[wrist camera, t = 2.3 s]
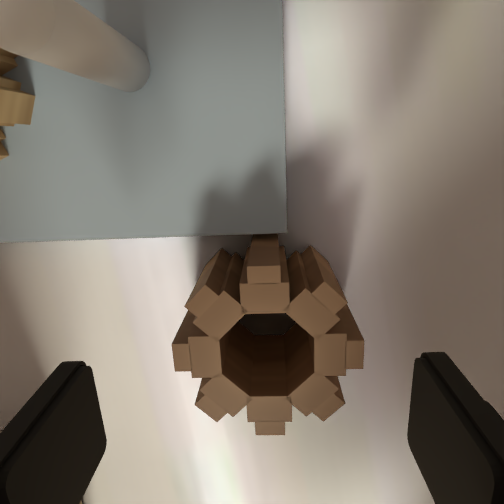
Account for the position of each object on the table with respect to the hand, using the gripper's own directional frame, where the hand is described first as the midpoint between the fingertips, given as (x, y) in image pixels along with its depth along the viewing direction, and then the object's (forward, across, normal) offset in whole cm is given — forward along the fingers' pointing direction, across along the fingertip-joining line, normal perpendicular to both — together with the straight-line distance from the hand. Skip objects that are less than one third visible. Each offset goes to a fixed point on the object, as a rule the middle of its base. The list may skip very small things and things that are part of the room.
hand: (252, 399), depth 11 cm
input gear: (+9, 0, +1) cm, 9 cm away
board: (+9, +8, -10) cm, 16 cm away
